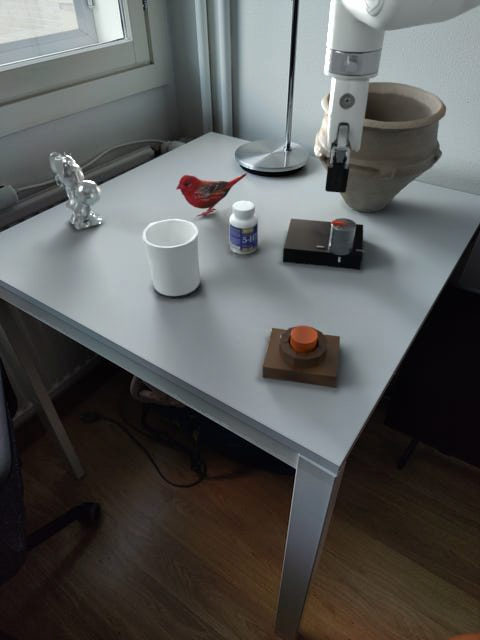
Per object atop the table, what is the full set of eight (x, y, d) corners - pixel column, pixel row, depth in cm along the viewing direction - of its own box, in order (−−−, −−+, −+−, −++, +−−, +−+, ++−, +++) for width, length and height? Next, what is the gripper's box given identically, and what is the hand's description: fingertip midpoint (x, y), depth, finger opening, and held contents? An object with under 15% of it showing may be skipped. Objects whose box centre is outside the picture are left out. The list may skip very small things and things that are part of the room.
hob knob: (352, 243, 84) (356, 217, 80) (351, 256, 81) (356, 229, 77) (329, 241, 84) (332, 215, 81) (327, 254, 81) (331, 227, 78)
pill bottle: (244, 258, 86) (244, 215, 80) (224, 248, 89) (222, 206, 83) (263, 246, 89) (264, 204, 83) (243, 237, 92) (242, 196, 86)
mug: (212, 285, 80) (209, 233, 73) (170, 307, 76) (162, 254, 69) (176, 259, 86) (169, 209, 80) (135, 278, 82) (124, 227, 75)
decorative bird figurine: (176, 221, 97) (170, 176, 90) (243, 197, 105) (242, 153, 98) (183, 227, 95) (178, 181, 89) (251, 201, 103) (251, 158, 96)
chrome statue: (117, 233, 94) (101, 161, 84) (89, 243, 91) (69, 170, 81) (86, 206, 102) (68, 138, 92) (59, 215, 100) (38, 146, 90)
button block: (338, 346, 68) (341, 326, 66) (335, 387, 62) (339, 367, 60) (271, 338, 70) (272, 318, 67) (262, 377, 64) (262, 357, 61)
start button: (317, 336, 65) (318, 327, 64) (315, 354, 62) (316, 345, 61) (291, 333, 65) (292, 323, 64) (288, 350, 63) (289, 341, 62)
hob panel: (361, 238, 91) (364, 223, 89) (361, 278, 81) (364, 263, 79) (290, 231, 93) (290, 217, 91) (280, 270, 83) (281, 255, 81)
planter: (434, 192, 105) (464, 87, 90) (412, 244, 89) (444, 126, 74) (329, 172, 114) (341, 74, 99) (292, 216, 98) (299, 106, 83)
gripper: (381, 79, 58) (359, 204, 69) (378, 48, 70) (360, 158, 82) (320, 77, 59) (309, 200, 70) (328, 47, 71) (317, 156, 83)
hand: (336, 178), depth 76 cm, fingers open, 9 cm apart
